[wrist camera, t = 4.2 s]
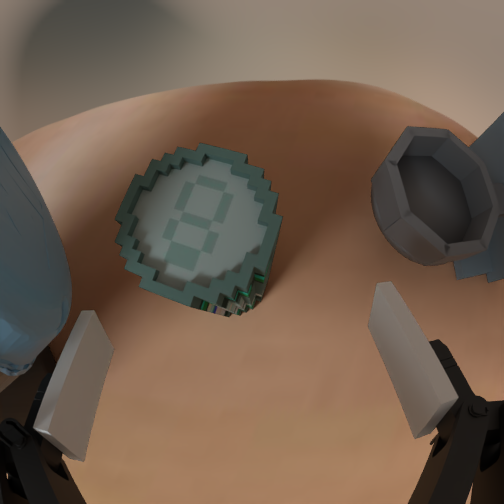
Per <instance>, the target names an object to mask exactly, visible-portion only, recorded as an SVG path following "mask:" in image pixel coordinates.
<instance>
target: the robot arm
mask: <svg viewBox="0 0 504 504" xmlns="http://www.w3.org/2000/svg"><path fill="white" fill-rule="evenodd" d="M71 301H72V283H71V275H70V270H69V265H68V261H67V258H66V254H65V251H64V248H63V245H62V242H61V239H60V236H59V234H58V231H57V229H56V226H55V224H54V221H53V219H52V217H51V215H50V212H49V210H48V208H47V206H46V204H45V202H44V200H43V198H42V195H41V193H40V191H39V189H38V187H37V186H36V184H35V182H34V180H33V178H32V176H31V174H30V173H29V171H28V169H27V167H26V166H25V164H24V162H23V160H22V159H21V157H20V156H19V154H18V152H17V151H16V149H15V147H14V146H13V144H12V143H11V141H10V140H9V138H8V137H7V136H6V134H5V133H4V131H3V130H2V129H1V127H0V504H86V502H85V500H84V498H83V497H82V495H81V493H80V491H79V489H78V487H77V486H76V484H75V482H74V480H73V478H72V476H71V474H70V472H69V470H68V468H67V466H66V464H65V462H64V461H63V459H62V454H64V455H66V456H67V457H68V458H70V459H73V460H78V461H83V462H84V460H85V456H86V451H87V447H88V442H89V438H90V434H91V430H92V426H93V422H94V418H95V414H96V410H97V406H98V402H99V399H100V395H101V392H102V388H103V385H104V381H105V378H106V374H107V371H108V368H109V364H110V361H111V358H112V355H113V352H114V347H113V346H112V344H111V342H110V340H109V338H108V336H107V334H106V332H105V330H104V328H103V327H102V325H101V323H100V321H99V319H98V316H97V314H96V312H95V310H84V311H81V313H80V315H79V317H78V319H77V321H76V323H75V325H74V327H73V329H72V331H71V334H70V336H69V338H68V340H67V342H66V344H65V347H64V349H63V351H62V353H61V356H60V358H59V360H58V363H57V365H56V364H55V361H54V358H53V356H52V353H51V351H50V349H49V347H48V344H49V343H50V342H51V341H52V340H53V339H54V338H55V337H56V336H57V335H58V334H59V333H60V331H61V330H62V328H63V326H64V325H65V323H66V321H67V318H68V316H69V313H70V308H71ZM368 328H369V330H370V332H371V334H372V337H373V339H374V341H375V343H376V346H377V348H378V350H379V352H380V355H381V357H382V359H383V362H384V364H385V366H386V369H387V371H388V373H389V376H390V378H391V380H392V383H393V385H394V388H395V390H396V393H397V395H398V398H399V400H400V403H401V405H402V408H403V410H404V413H405V415H406V418H407V421H408V423H409V426H410V428H411V431H412V434H413V437H414V439H416V438H419V437H422V436H425V435H428V434H430V433H431V432H432V431H433V430H434V429H435V427H436V428H437V430H438V432H439V433H438V434H437V435H436V436H435V437H434V438H433V440H432V441H431V443H430V445H432V444H433V443H434V445H433V447H432V450H431V452H430V455H429V458H428V460H427V462H426V465H425V467H424V470H423V472H422V474H421V477H420V479H419V481H418V483H417V486H416V488H415V490H414V492H413V494H412V496H411V498H410V500H409V502H408V504H465V503H466V500H467V497H468V495H469V492H470V489H471V486H472V483H473V486H472V494H471V501H470V504H504V400H502V401H491V402H489V401H486V400H485V399H484V398H482V397H480V396H476V395H475V394H474V393H473V391H472V390H471V388H470V386H469V384H468V382H467V380H466V379H465V377H464V375H463V373H462V371H461V370H460V368H459V366H457V363H456V361H455V359H454V358H453V356H452V354H451V352H450V351H449V349H448V347H447V346H446V345H444V344H443V343H442V342H441V341H440V340H439V339H437V340H434V341H430V342H428V340H427V338H426V336H425V335H424V333H423V331H422V330H421V328H420V326H419V325H418V323H417V321H416V320H415V318H414V316H413V315H412V313H411V311H410V310H409V308H408V307H407V305H406V303H405V302H404V300H403V299H402V297H401V295H400V294H399V292H398V291H397V289H396V288H395V286H394V285H393V283H392V282H391V281H388V282H382V283H377V284H376V289H375V294H374V299H373V304H372V309H371V314H370V318H369V323H368ZM6 473H7V474H8V479H7V474H6Z"/></svg>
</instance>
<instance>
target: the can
mask: <svg viewBox="0 0 504 504" xmlns="http://www.w3.org/2000/svg"><path fill="white" fill-rule="evenodd" d="M270 190H271V181H270V180H266V179H264V169H263V168H259V167H256V166H252V165H249V164H248V156H247V154H243V153H239V152H235V151H231V150H227V149H224V148H220V147H215V146H211V145H207V144H203V143H199V145H198V147H197V149H196V151H194V150H190V149H186V148H182V147H177V149H176V151H175V153H174V155H173V154H168V153H165V154H164V156H163V158H162V160H161V161H159V160H154V159H152V161H151V163H150V165H149V167H148V169H147V171H146V173H145V175H144V176H141V175H138V174H135V176H134V178H133V180H132V182H131V184H130V186H129V189H128V191H127V193H126V195H125V197H124V199H123V201H122V204H121V206H120V208H119V210H118V213H117V215H116V217H115V220H116V221H117V222H118V223H119V224H121V228H120V230H119V232H118V235H117V237H116V240H115V242H116V243H117V244H119V245H120V246H122V249H121V252H120V254H119V255H120V256H122V257H123V258H125V259H127V262H126V265H125V268H124V269H125V270H128V271H130V272H132V273H134V274H136V275H139V276H141V277H142V279H141V282H140V285H139V287H140V288H143V289H145V290H148V291H150V292H153V293H155V294H158V295H160V296H163V297H165V298H168V299H171V300H173V301H176V302H178V303H181V304H184V305H186V306H189V307H192V308H196V309H200V310H203V311H207V312H211V313H215V314H219V315H223V316H226V317H229V316H230V313H234V314H237V315H239V316H240V315H241V312H242V311H243V312H246V313H247V310H248V308H250V309H253V308H254V305H255V302H256V300H257V301H260V302H261V300H262V297H263V294H264V291H265V288H266V285H267V282H268V279H269V274H270V270H271V266H272V262H273V257H274V253H275V249H276V244H277V240H278V236H279V231H280V227H281V223H282V218H283V216H280V215H276V207H277V201H278V194H279V193H275V192H272V191H270Z"/></svg>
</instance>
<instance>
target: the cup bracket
mask: <svg viewBox="0 0 504 504" xmlns="http://www.w3.org/2000/svg"><path fill="white" fill-rule="evenodd" d="M371 182H372V187H371V203H372V209H373V213H374V216H375V219H376V221H377V224H378V226H379V228H380V230H381V232H382V233H383V235H384V236H385V238H386V239H387V241H388V242H389V243H390V244H391V245H392V246H393V247H394V248H395V249H396V250H397V251H398V252H399V253H400V254H402V255H403V256H404V257H406V258H408V259H409V260H411V261H413V262H416V263H418V264H422V265H424V266H428V265H429V266H435V265H441V264H445V263H447V262H452V261H454V267H455V272H456V278H457V280H459V279H464V278H468V277H473V276H477V275H482V274H487V280H488V283H489V282H493V281H497V280H500V279H504V112H503V113H502V114H501V116H499V117H498V118H497V120H496V121H495V122H494V123H493V124H492V125H491V126H490V127H489V128H488V129H487V130H486V131H485V132H484V133H483V134H482V135H481V136H480V137H479V138H478V139H477V140H476V141H475V142H474V143H473V144H472V145H471V146H470V147H467V146H466V145H465V144H464V143H463V142H462V141H461V140H460V139H458V138H457V137H456V136H455V135H454V134H453V133H451V132H450V131H449V130H447V129H437V128H425V127H409V126H408V127H406V129H405V130H404V132H403V133H402V135H401V136H400V138H399V139H398V141H397V142H396V143H395V145H394V146H393V148H392V149H391V151H390V152H389V154H388V155H387V157H386V158H385V160H384V161H383V163H382V164H381V165H380V167H379V168H378V170H377V171H376V173H375V174H374V176H373V177H372V179H371Z"/></svg>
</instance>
